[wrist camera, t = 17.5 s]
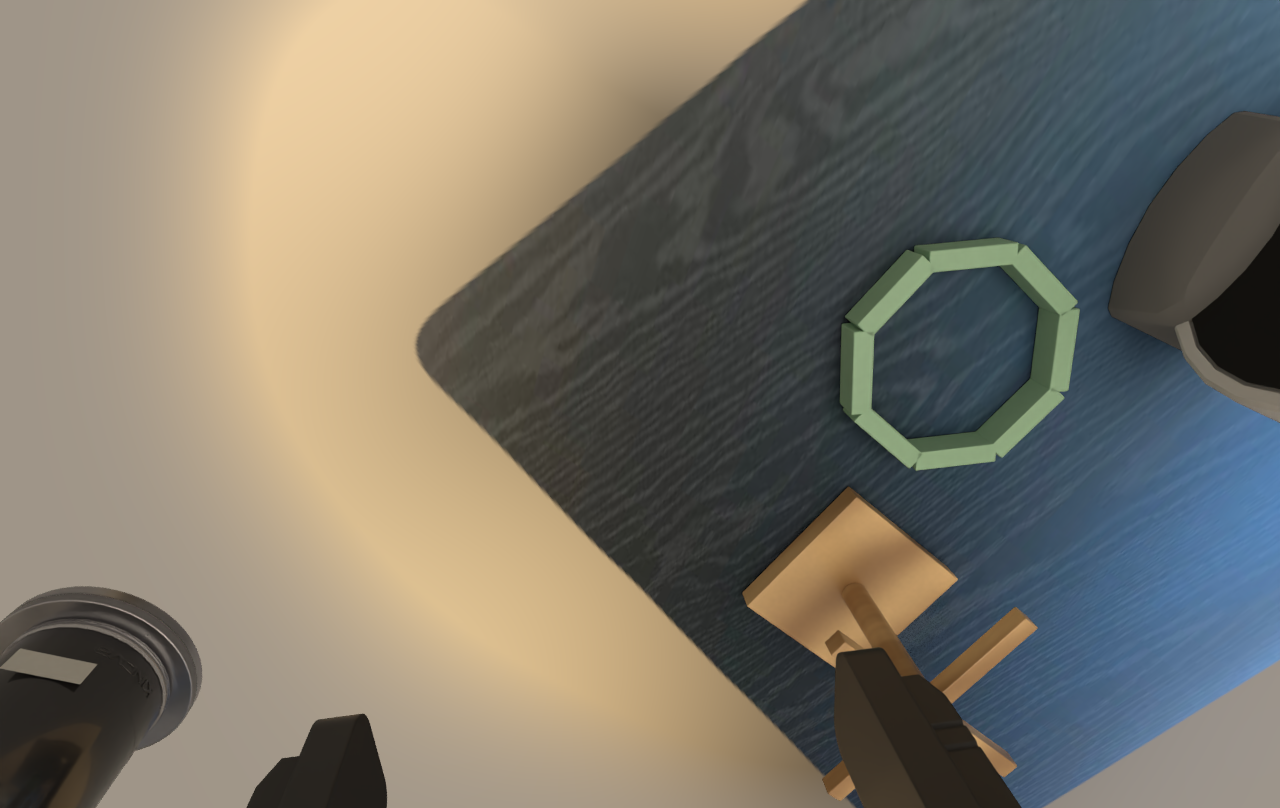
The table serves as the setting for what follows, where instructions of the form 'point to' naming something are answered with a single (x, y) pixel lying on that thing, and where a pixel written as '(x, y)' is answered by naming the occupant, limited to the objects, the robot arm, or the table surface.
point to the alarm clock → (1215, 263)
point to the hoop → (1020, 409)
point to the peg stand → (872, 604)
